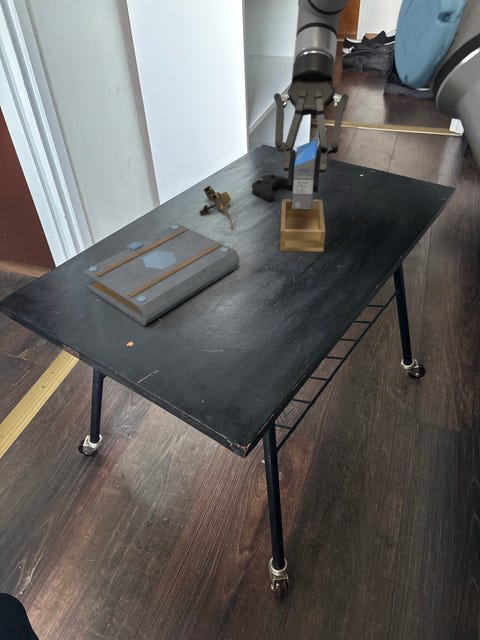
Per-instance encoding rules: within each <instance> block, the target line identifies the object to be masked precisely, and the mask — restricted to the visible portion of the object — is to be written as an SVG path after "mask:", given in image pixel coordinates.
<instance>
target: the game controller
mask: <svg viewBox="0 0 480 640" xmlns="http://www.w3.org/2000/svg"><path fill="white" fill-rule="evenodd" d="M287 184H288V177H285V176H281V175H275V174H265V175H263V176H261V177H260V178H259V179H257V180H255V181H253V182H252V184H251V188H252V192H251V194H252V195H254V196H257V195H258V196H260V197H261V198H262V199H264V200H265V201H267V202H274V201H275V193H274V191H273V188H274V187H279V188H282V189H285V190H288V186H287Z"/></svg>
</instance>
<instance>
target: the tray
mask: <svg viewBox="0 0 480 640" xmlns="http://www.w3.org/2000/svg"><path fill="white" fill-rule="evenodd" d="M323 203H324V202H323V199H313V206H312V210H294V209H292V198H291V199H287V198H285V199H284V198H282V199H281V216H280V245H279V251H280V252H311V253H312V252H314V253H315V252H316V253H322V252H325V239H326V223H325V215H324V214H325V213H324V204H323Z"/></svg>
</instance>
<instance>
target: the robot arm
mask: <svg viewBox="0 0 480 640" xmlns="http://www.w3.org/2000/svg"><path fill="white" fill-rule="evenodd" d="M348 3H349V0H297V5H298V6H297V7H298V8H297V21H296V22H297V23H296V31H295V32H296V33H295V34H296V35H295V41H294V49H293V50H294V51H293V64H292V73H291V83H290V86H289V88H288V90H287V92H285V93H281V94H280V93H279V92H276V93H275V94H274V95H273V102H274V105H275V109H276V111H275V112H276V113H275V132H274V134H275V135H274V147H275V151H276V152H281V153H282V154H283V161H282V162H283V163H282V168H283V171H284V172H288V175H287V179H288V184H287V186H288V189H287V191H288V192H293V179H294V165H295V158H296V149H294V148H295V144H296V140H297V137H298V134H299V131H300V126H301V124H302V121H303V118H304V116H308V115H310V116H314V117H315V119H316V125H317V130H318V129H319V137H318V144H319V150H318V149H317V153H316V164H315V175H314V187H313V192H314V193H318V192H319V181H320V174H321V173H323V174H324V173H326V172H327V165H328V156H329V155H330V154H337V153H338V151H339V146H340V145H339V144H340V138H341V130H342V123H343V115H344V113H345V111H346V109H347V107H348V104H349V95H348V94H347V93H343V94H339V93H337V92H336V89H335V87H334V81H335V67H336V65H335V63H336V57H337V47H338V46H337V45H338V34H339V33H338V32H339V23H340V18H341V16H342V14H343V11H344V9H345V8H346V5H347V4H348ZM394 63H395V69H396V72H397V74H398V77H399V80H401V82H403V84H404V85H407V86H411V87H414V88H417V89H418V88H422V87H424V86H428V87H429V89H430V92H431V95H432V97H433V99H434V102H435V104H436V107H437V109H438V111H439V113H440V114H441V115H442V116H444V117H446V118H447V119H452V120H459V121H460V123H461V127H462V129H463V132H464V134H465V137H466V139H467V142H468V145H469V147H470V150H471V153H472V155H473V158H474V161H475V163H476V166H477V169H478V171H479V172H480V0H401V4H400V8H399V12H398V15H397V21H396V28H395V35H394ZM288 102H290V103H291V105H292V107H293V108H294V113H293V117H292V120H291V123H290V127H289V130H288V133H287V137H286V139H285V142H284V127H285V126H284V125H285V122H284V121H285V110H284V109H285V108H287V105H288ZM332 102H334V105H333V106H334V108H335V109H336V110H335V115H334V125H333V132H332V139H331V143H328V136H327V135H328V134H327V128H326V127H327V126H326V119H325V110H327V108H328V107H329V106H330V105H331V103H332Z"/></svg>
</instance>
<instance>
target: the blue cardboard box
mask: <svg viewBox="0 0 480 640" xmlns="http://www.w3.org/2000/svg"><path fill="white" fill-rule="evenodd" d="M318 144H319V129H318V128H317V136H316V139H314V140H312V141H309V142H306V143H304V144H302V145H299V146H297V147H296V150H295V156H296V157H295V165H294V178H293V189H292V197H291V199H292V209H294V210H312V206H313V200H314V194H315V192H313V187H314V175H315V164H316V153H317V150H318Z"/></svg>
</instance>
